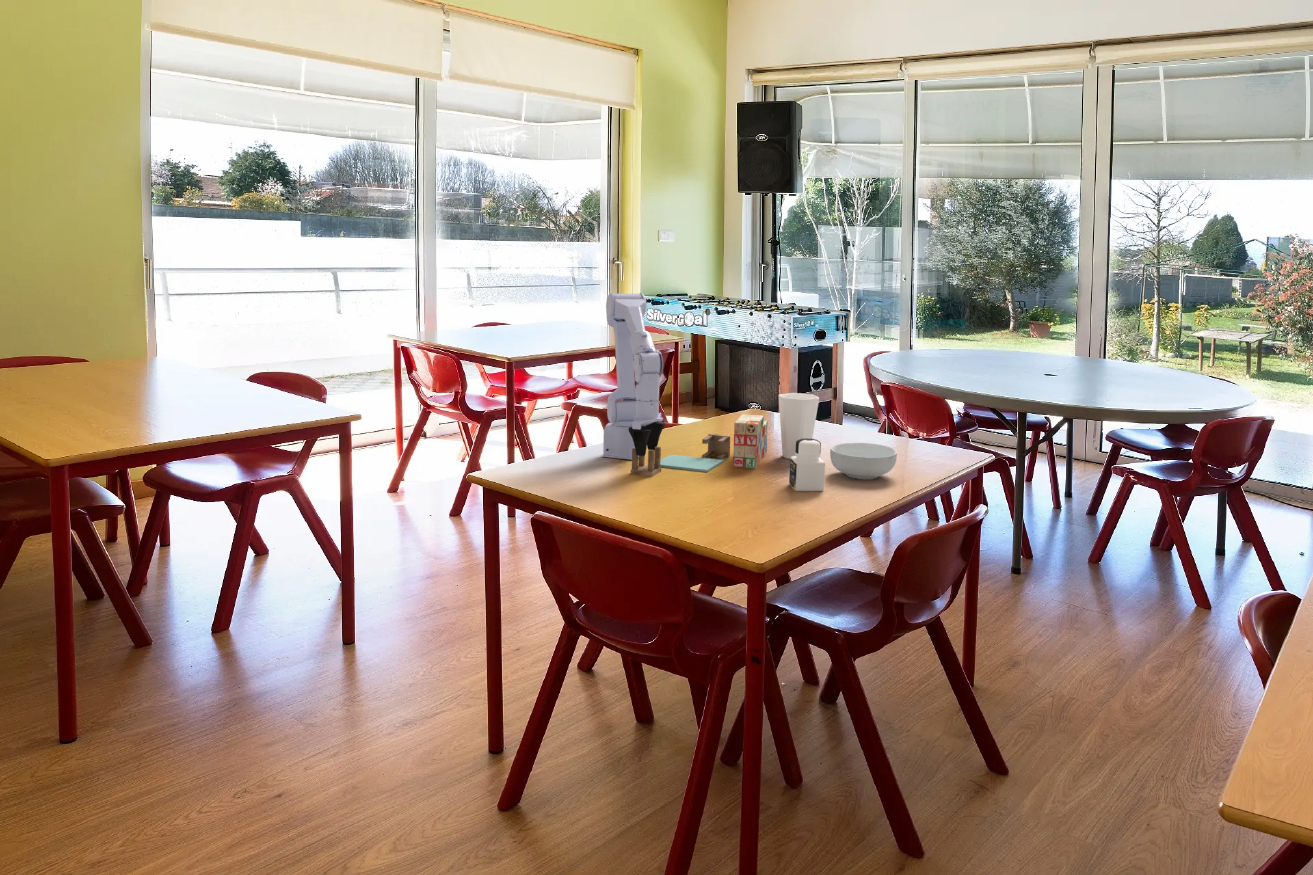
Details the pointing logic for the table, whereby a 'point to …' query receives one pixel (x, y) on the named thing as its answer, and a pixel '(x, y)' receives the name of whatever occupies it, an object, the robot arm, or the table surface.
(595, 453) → the table surface
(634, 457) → the upturned stool
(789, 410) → the cup
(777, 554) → the table surface
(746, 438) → the stack of blocks
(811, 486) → the medicine bottle
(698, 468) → the mat
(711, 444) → the toppled stool
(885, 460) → the cereal bowl
